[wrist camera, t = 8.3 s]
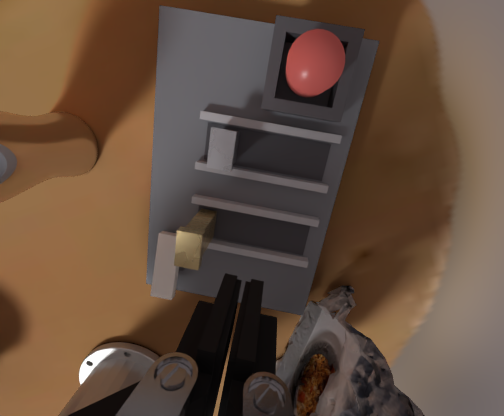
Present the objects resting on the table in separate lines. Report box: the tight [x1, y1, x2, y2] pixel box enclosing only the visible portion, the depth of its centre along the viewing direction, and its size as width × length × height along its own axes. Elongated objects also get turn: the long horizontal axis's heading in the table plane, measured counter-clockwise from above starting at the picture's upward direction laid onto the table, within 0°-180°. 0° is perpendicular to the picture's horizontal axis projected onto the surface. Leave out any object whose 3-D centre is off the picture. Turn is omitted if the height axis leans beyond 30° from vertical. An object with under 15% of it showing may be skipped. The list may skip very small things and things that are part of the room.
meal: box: [276, 286, 424, 416], centre depth 24 cm, size 15×4×13 cm, turn 152°
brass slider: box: [174, 208, 217, 270], centre depth 22 cm, size 3×2×6 cm, turn 170°
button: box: [285, 29, 345, 98], centre depth 17 cm, size 3×3×4 cm
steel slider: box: [207, 127, 240, 172], centre depth 21 cm, size 3×2×3 cm, turn 171°
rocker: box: [150, 231, 179, 300], centre depth 25 cm, size 6×2×1 cm, turn 171°
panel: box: [146, 5, 379, 316], centre depth 23 cm, size 24×16×5 cm, turn 171°
